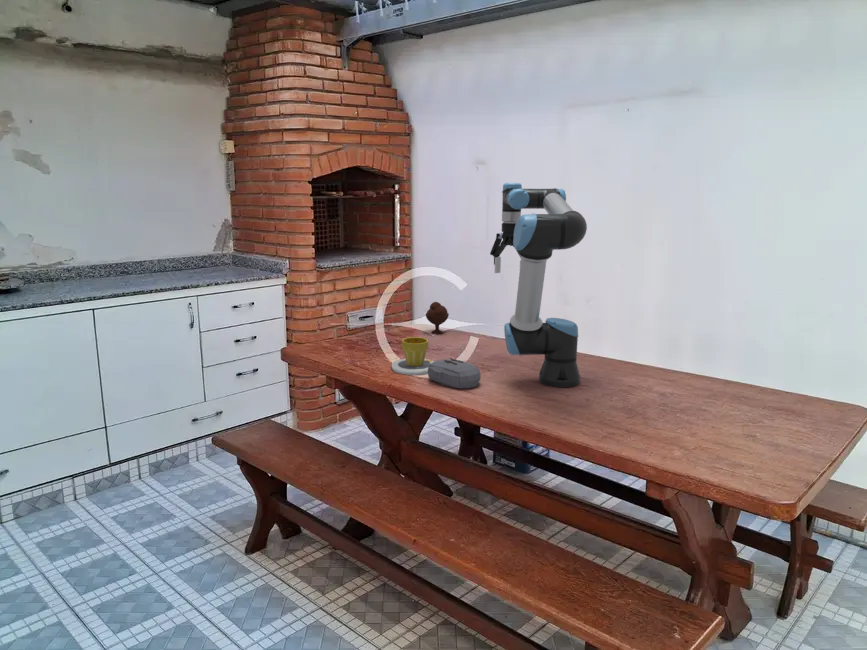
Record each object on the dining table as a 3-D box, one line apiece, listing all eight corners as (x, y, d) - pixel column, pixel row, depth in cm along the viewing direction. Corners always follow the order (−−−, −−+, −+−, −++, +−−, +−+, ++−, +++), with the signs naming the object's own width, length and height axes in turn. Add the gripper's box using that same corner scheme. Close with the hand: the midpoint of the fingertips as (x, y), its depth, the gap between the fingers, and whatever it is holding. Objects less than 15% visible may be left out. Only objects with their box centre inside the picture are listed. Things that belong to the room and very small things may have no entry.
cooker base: (446, 368, 258) (446, 364, 257) (411, 378, 246) (411, 373, 246) (417, 359, 271) (417, 354, 270) (382, 367, 259) (382, 363, 259)
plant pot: (427, 368, 253) (427, 343, 251) (401, 367, 253) (401, 343, 251) (428, 360, 263) (428, 336, 261) (403, 360, 263) (402, 336, 261)
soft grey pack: (422, 381, 243) (462, 393, 229) (422, 359, 241) (462, 371, 227) (450, 372, 254) (489, 384, 240) (450, 351, 252) (490, 362, 238)
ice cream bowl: (423, 334, 311) (423, 303, 307) (430, 329, 321) (430, 299, 318) (444, 336, 308) (444, 305, 304) (450, 331, 318) (451, 300, 315)
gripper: (541, 223, 255) (539, 277, 260) (494, 220, 273) (493, 270, 278) (529, 224, 250) (527, 279, 255) (482, 220, 268) (481, 272, 273)
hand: (509, 274), depth 267 cm, fingers open, 13 cm apart
